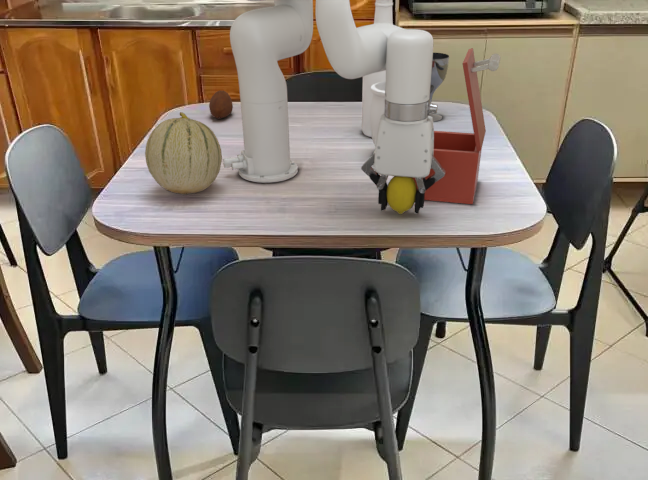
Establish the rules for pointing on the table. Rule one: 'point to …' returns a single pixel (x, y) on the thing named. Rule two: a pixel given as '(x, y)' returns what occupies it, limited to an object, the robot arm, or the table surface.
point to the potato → (220, 104)
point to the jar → (377, 107)
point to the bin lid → (477, 91)
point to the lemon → (401, 193)
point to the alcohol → (381, 16)
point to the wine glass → (438, 76)
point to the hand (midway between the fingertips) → (400, 208)
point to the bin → (455, 168)
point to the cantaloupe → (183, 155)
